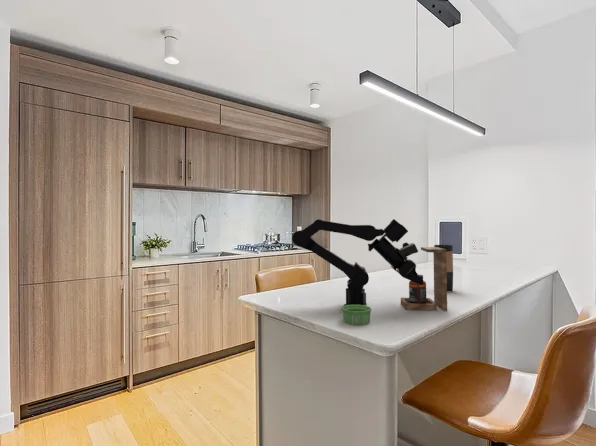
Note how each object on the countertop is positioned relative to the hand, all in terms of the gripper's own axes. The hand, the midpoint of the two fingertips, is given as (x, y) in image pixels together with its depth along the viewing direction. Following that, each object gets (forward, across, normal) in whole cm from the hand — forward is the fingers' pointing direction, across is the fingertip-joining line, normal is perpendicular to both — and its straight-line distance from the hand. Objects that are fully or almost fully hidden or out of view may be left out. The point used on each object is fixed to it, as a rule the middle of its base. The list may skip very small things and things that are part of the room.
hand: (419, 281), depth 126 cm
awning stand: (+7, 0, +6) cm, 9 cm away
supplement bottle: (+6, 0, +7) cm, 9 cm away
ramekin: (-10, -21, +23) cm, 33 cm away
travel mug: (+18, +30, -6) cm, 36 cm away
